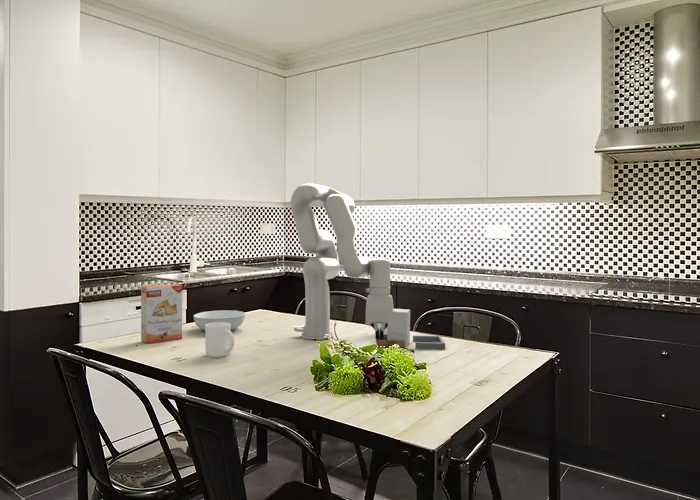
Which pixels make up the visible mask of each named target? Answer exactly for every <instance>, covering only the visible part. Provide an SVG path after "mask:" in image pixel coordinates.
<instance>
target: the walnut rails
mask: <svg viewBox="0 0 700 500" xmlns="http://www.w3.org/2000/svg"><path fill="white" fill-rule="evenodd" d="M375 341H376V343H375V344H377V345H378V347H380V346H385V347H389V346H392V345H394V344H398V345H399V346H400V347H404V348H405V346H404V341H403V340H387V334H384V339H382V340H380V334H379V340H377V339H376V338H375Z"/></svg>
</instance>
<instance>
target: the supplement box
mask: <svg viewBox="0 0 700 500" xmlns="http://www.w3.org/2000/svg"><path fill="white" fill-rule="evenodd" d="M387 340H403V341H404V347H407V346H408V345H409V344H410V343H411V342H410V341H411V309H406V308H405V309H403V308H393V311H392V312H389V323H388V330H387Z"/></svg>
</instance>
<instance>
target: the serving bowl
mask: <svg viewBox="0 0 700 500" xmlns="http://www.w3.org/2000/svg"><path fill="white" fill-rule="evenodd" d="M245 317H246V313H245V312H244V311H240V310H229V309H228V310H225V309H224V310H223V309H222V310H211V311H201V312H198V313H196V314H193V321H194V324H195V325H196V326H197V327H198V328H199V329H200V330H203V331H205V325H206V324H208V323H214V322H226V323H230V324H231V330H234V329H237V328H239V327H240V326H241V325H242V324H243V323H244V322H245V319H246V318H245Z"/></svg>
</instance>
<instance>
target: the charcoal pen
mask: <svg viewBox="0 0 700 500" xmlns="http://www.w3.org/2000/svg"><path fill="white" fill-rule="evenodd" d="M431 341H433V342H431ZM434 341H438V342H434ZM412 342H415V345H414V346H415V349H418V350H419V349H422V350H423V349H425V350H427V349H429V350H430V349H431V350H446V342H445V341H444V339H443V338H442V336H441V335H412Z"/></svg>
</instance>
